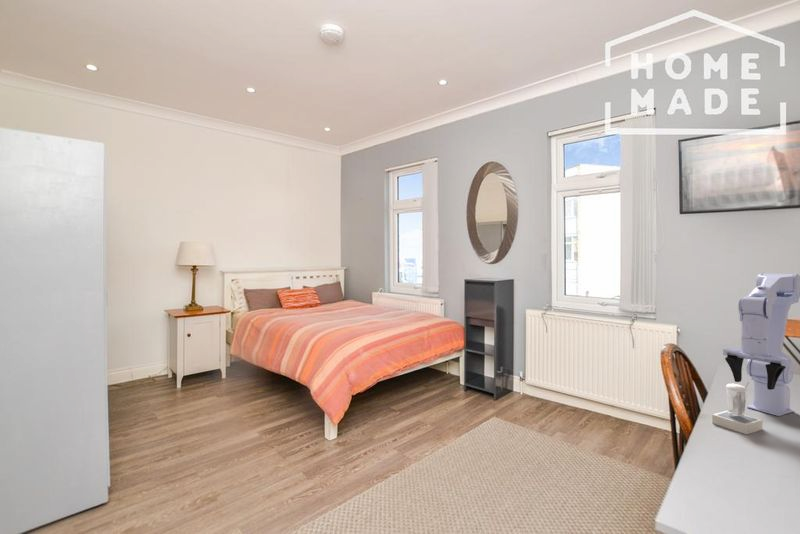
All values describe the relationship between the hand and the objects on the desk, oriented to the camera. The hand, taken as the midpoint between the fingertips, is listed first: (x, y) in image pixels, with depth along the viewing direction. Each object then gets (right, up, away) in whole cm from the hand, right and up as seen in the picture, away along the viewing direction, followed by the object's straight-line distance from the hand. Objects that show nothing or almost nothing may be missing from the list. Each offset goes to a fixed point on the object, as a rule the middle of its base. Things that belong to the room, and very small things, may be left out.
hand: (753, 385), depth 112 cm
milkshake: (-8, -8, -3) cm, 12 cm away
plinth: (-8, -10, -3) cm, 14 cm away
